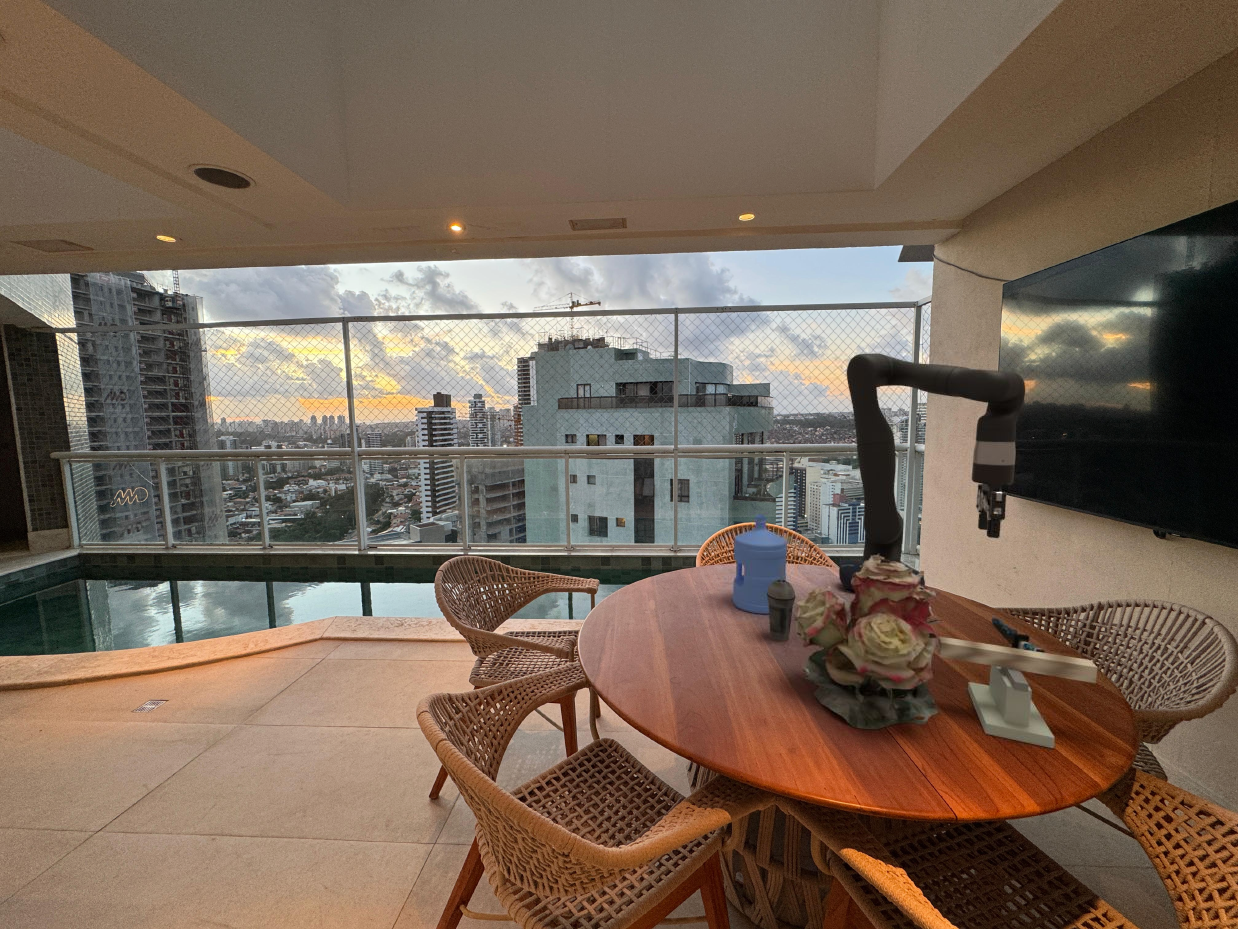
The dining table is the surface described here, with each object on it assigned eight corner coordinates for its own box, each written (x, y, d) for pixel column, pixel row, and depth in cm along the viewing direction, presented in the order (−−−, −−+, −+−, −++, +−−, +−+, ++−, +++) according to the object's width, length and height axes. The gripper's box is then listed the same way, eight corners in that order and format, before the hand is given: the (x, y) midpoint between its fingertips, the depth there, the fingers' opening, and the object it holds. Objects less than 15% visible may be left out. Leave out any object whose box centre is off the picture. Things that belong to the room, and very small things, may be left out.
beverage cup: (794, 633, 136) (796, 561, 134) (794, 645, 129) (796, 569, 127) (766, 630, 139) (768, 558, 137) (764, 641, 132) (766, 566, 130)
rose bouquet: (780, 666, 119) (784, 541, 116) (905, 667, 118) (913, 541, 115) (821, 735, 93) (828, 577, 90) (981, 736, 93) (994, 578, 90)
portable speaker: (835, 591, 169) (836, 562, 168) (841, 583, 177) (842, 555, 176) (922, 607, 155) (924, 575, 154) (924, 597, 163) (926, 567, 162)
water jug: (790, 602, 159) (793, 514, 156) (776, 619, 146) (779, 523, 143) (742, 592, 167) (744, 509, 165) (725, 608, 154) (727, 517, 151)
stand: (1053, 748, 90) (1058, 692, 89) (985, 733, 94) (989, 679, 93) (1026, 701, 104) (1030, 653, 103) (967, 690, 108) (971, 643, 107)
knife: (1046, 670, 114) (1047, 650, 114) (1030, 667, 115) (1031, 648, 115) (1002, 630, 143) (1003, 615, 142) (989, 629, 144) (990, 613, 144)
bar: (940, 656, 101) (941, 642, 101) (937, 650, 104) (938, 636, 104) (1095, 683, 91) (1097, 667, 91) (1088, 675, 94) (1090, 660, 94)
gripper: (1024, 465, 104) (1017, 542, 106) (1005, 459, 117) (1000, 528, 119) (980, 464, 108) (974, 538, 109) (966, 458, 120) (962, 525, 122)
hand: (988, 533), depth 114 cm, fingers open, 8 cm apart
